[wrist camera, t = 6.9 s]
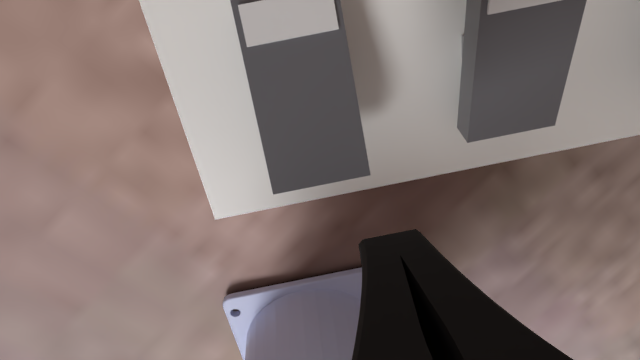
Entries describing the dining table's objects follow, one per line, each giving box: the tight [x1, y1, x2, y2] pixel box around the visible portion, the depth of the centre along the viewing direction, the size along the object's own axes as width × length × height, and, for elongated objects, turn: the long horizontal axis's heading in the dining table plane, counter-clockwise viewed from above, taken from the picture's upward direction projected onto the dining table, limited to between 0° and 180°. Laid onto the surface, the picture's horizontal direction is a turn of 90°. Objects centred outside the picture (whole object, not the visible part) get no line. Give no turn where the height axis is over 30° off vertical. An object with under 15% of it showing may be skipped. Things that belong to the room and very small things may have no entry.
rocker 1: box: [230, 0, 371, 195], centre depth 14 cm, size 6×3×1 cm, turn 9°
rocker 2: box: [457, 0, 587, 143], centre depth 14 cm, size 6×3×1 cm, turn 10°
